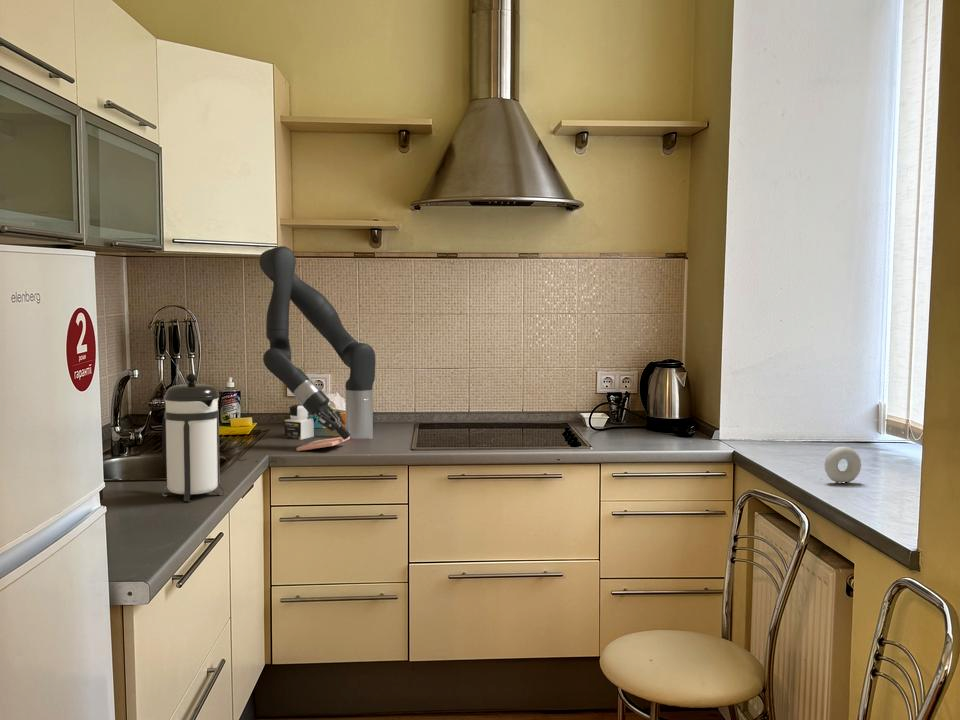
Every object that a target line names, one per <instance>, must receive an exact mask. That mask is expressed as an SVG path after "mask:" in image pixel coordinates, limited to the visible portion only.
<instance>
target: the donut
mask: <svg viewBox="0 0 960 720" xmlns="http://www.w3.org/2000/svg"><path fill="white" fill-rule="evenodd" d="M841 460H845V461H846V462H847V467H846V468H845V469H844V470H840V469H839V463H840V462H841ZM861 468H862V460H861V458H860V456H859V454H858V453H857V452H856V450H855V449H852V448H851V447H849V446H839V447H835V448H833V449H832V450H831V451H830V452H829V453H828V454H827V456H826V458H825V460H824V470H825V473H826V475H827V477H828V478H829V479H830V480H831V481H833V482H834V481H835V483H836V482H849V483H850V482H852V481H854V480H855V479H856V478H857V477H858V476H859V474H860V472H861Z"/></svg>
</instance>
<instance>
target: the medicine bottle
mask: <svg viewBox="0 0 960 720" xmlns="http://www.w3.org/2000/svg"><path fill="white" fill-rule="evenodd" d="M289 417H290V418H287V419H285V420H284V425H283V426H284V438H285V439H293V440H299V441H300V440H301V441H302V440H304V439H305V440H306V439H309V438H314V437H315V434H314V433H315V425H314V424H315V422H314V419H313V418H309V412H308V411H307V410H306V409H305V408H304V407H303V406H302V405H301V404H294V405H291V406H290V407H289Z"/></svg>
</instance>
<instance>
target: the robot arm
mask: <svg viewBox="0 0 960 720" xmlns="http://www.w3.org/2000/svg"><path fill="white" fill-rule="evenodd" d="M296 260H297V259H296V256H295V253H294V251H293V250H292V249H291V248H289V247H288V246H285V245H284V246H283V245H281V246H275V247H272V248H269V249H267V250H265V251H263V252H262V253H261V254H260V256H259V259H258V261H259V266H260V269H261V271H262V272H263V274H264V275H265V276H266V277H267V278H268V279H269V280H271V281H272V282H273V283H272V284H273V285H272V292H271V296H270V301H269V304H268V308H267V312H266V319H265V320H266V322H265V324H266V327H265V328H266V329H265V330H266V331H265V333H266V334H265V335H266V338H267V340H268V342H269V348H268V349H267V350H266V351H265V352H264V353H263V356H262V362H263V364H264V366H265V368H266V369H267V370H269V372H270V373H272V374H273V376H275V377H276V378H277V379H278V380H279V381H281V382H282V383H283V384H284V385H285V386H286V388H287V389H288V390H289V391H290V393H291V394H292V395H293V396H294V397H295V399H296V400H297V401H298V402H299V405H302V406H303V407H304V408H305V409H306V410H307V411H308V414H309V415H310V416H317V418H319V419H318V420H317V423H318V424H319V425H322V426H323V427H325V428H327V429H328V430H330V431H331V432H333V431H334V432H335V433H337V434H338V435H339V437H342V438H343V439H344V440H345V439H347V438H348V437H349V436H350V439H352V440H353V439H354V440H360V439H371V440H372V439H373V438H374V433H373V432H374V431H373V430H374V428H373V427H374V426H373V424H374V423H373V420H374V419H373V418H374V417H373V412H374V411H373V410H374V409H373V408H374V406H373V405H374V404H373V400H374V398H373V397H374V396H373V392H374V391H373V390H374V388H373V387H374V383H375V377H376V352H375V350H374V348H373V346H371V345H370V344H368V343H366V342H365V343H364V342H358V341H357V340H356V339H355V338H354V337H353V336H352V335H351V334H350V333H349V332H348V330H346V328H345V327H344V325H343V323H342V321H341V318H340V316H339V314H338V311H336V309H335V307H334V306H333V305H332V303H331V302H330V301H329V300H328V299H327V298H326V296H324V294H322V293H321V292H320V291H318V290H317V289H316V288H315V287H312V286H311V285H309V284H308V283H307V282H305V281H303V280H302V279H301V278H300V277H299V276H298V275H297V274H296V272H295V269H296V265H297V264H296V262H297V261H296ZM291 302H292V304H294V306H295V307H296V308H297V309H298V310H299V311H300V312H301V313H302V315H303V316H304V317H305V319H306V320H307V321H308V322H309V323H310V324H311V325H312V326H313V327H314V328H315V329H316V331H317V332H318V333H320V335H321V336H322V337H323V338H324V339H325V340H326V341H327V342H328V343H329V344H330V345H331V347H332V348H333V350H334V351H335V352H336V354H337V355H338V357H339V358H340V359H341V361H342V363H344V365H345V366H347V367H348V368H349V378H348V379H347V380H346V381H345V390H344V391H345V393H344V394H345V395H344V396H345V422H344V419H343V417H342V414H341V412H340V411H338V410H337V411H335V410H334V408H332V407H331V406H330V405H329V403H330V398H328V397H327V395H326V394H325V393H324V392H323V391H322V390H321V388H320V387H319V386H318V385H317V384H316V383H315V382H314V381H313V380H311V379H310V378H309V376H308V375H307V374H306V373H305V372H304V371H303V370H302V369H300V368H299V367H297V366H296V365H294V363H292V351H291V344H290V338H289V334H290V304H291ZM344 424H345V427H344Z"/></svg>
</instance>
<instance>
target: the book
mask: <svg viewBox="0 0 960 720" xmlns="http://www.w3.org/2000/svg"><path fill="white" fill-rule="evenodd" d="M350 439H351V438H350V436H349V437H348V438H347V439H345V440H344V439H343V438H342V437H341V436H338V437H331V438H325V439H318V440H314V441H311V442H308V443H306V444H303V445H300V446H298V447H296V452H300V451H306V450H307V451H308V450H315V449H320V448H327V447H333V446H336V445H338V444H340V443H343V442H345V441H349V440H350Z"/></svg>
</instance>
